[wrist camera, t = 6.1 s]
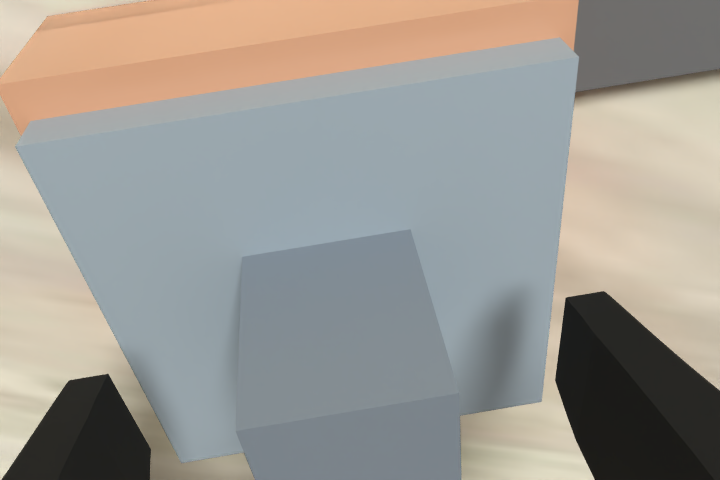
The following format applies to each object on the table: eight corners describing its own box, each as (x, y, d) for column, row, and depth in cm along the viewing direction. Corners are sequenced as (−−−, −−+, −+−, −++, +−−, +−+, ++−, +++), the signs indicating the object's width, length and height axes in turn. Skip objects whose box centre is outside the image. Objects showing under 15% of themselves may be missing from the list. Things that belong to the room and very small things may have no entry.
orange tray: (519, -57, 12) (579, -8, 10) (504, 285, 18) (540, 368, 15) (47, 16, 12) (-5, 84, 10) (184, 338, 18) (172, 431, 15)
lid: (530, 375, 16) (605, 556, 12) (185, 433, 15) (162, 634, 12) (560, 37, 10) (709, 190, 7) (30, 121, 10) (-90, 322, 7)
